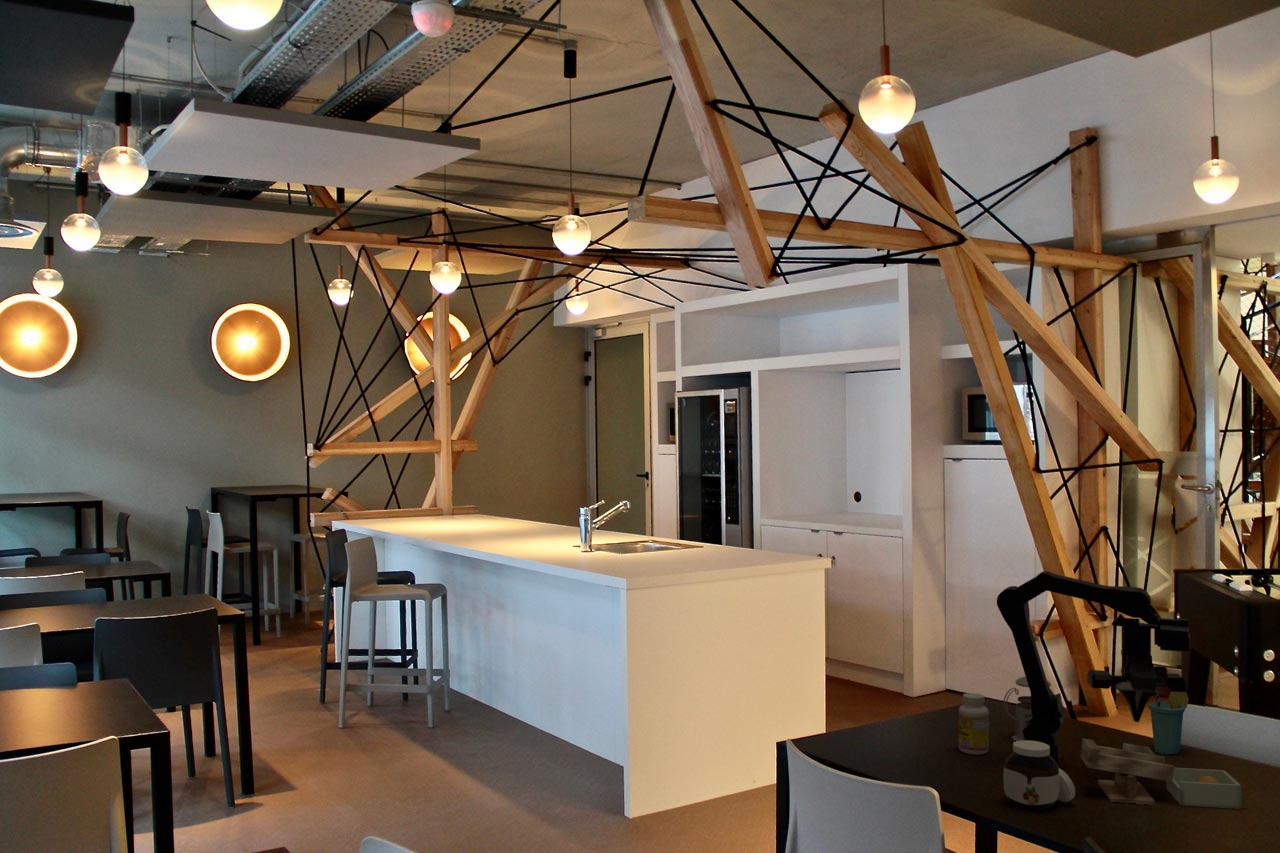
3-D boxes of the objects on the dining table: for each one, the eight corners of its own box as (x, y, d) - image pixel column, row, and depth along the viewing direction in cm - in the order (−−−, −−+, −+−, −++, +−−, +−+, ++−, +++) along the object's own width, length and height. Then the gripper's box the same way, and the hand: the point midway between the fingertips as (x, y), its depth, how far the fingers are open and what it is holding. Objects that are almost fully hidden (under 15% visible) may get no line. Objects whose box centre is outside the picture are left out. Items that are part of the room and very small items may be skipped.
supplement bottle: (954, 747, 253) (954, 692, 253) (981, 746, 254) (981, 691, 254) (965, 755, 246) (965, 699, 247) (993, 755, 247) (993, 698, 247)
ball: (1227, 788, 215) (1214, 804, 215) (1220, 781, 219) (1208, 797, 219) (1209, 775, 215) (1196, 791, 216) (1202, 769, 219) (1190, 785, 220)
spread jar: (998, 803, 214) (998, 744, 215) (1020, 789, 223) (1020, 732, 223) (1060, 817, 207) (1060, 756, 207) (1080, 802, 215) (1080, 743, 216)
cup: (1162, 761, 243) (1162, 693, 243) (1130, 752, 249) (1130, 687, 249) (1198, 751, 250) (1198, 686, 250) (1167, 743, 257) (1166, 679, 257)
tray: (1180, 805, 214) (1180, 782, 214) (1166, 788, 223) (1166, 767, 224) (1241, 809, 212) (1241, 785, 212) (1224, 792, 221) (1224, 770, 221)
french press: (1061, 746, 254) (1061, 639, 254) (1011, 746, 254) (1011, 639, 254) (1046, 734, 264) (1046, 631, 264) (998, 734, 264) (998, 631, 264)
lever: (1087, 767, 218) (1089, 747, 218) (1070, 744, 235) (1072, 725, 235) (1172, 781, 215) (1174, 761, 215) (1149, 756, 232) (1151, 738, 232)
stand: (1111, 802, 215) (1111, 777, 215) (1098, 783, 227) (1098, 759, 227) (1154, 805, 214) (1154, 779, 214) (1139, 785, 225) (1139, 761, 225)
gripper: (1097, 653, 225) (1097, 729, 225) (1195, 657, 221) (1195, 734, 221) (1086, 643, 236) (1086, 715, 236) (1179, 647, 232) (1179, 720, 232)
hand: (1136, 721), depth 231 cm, fingers closed
